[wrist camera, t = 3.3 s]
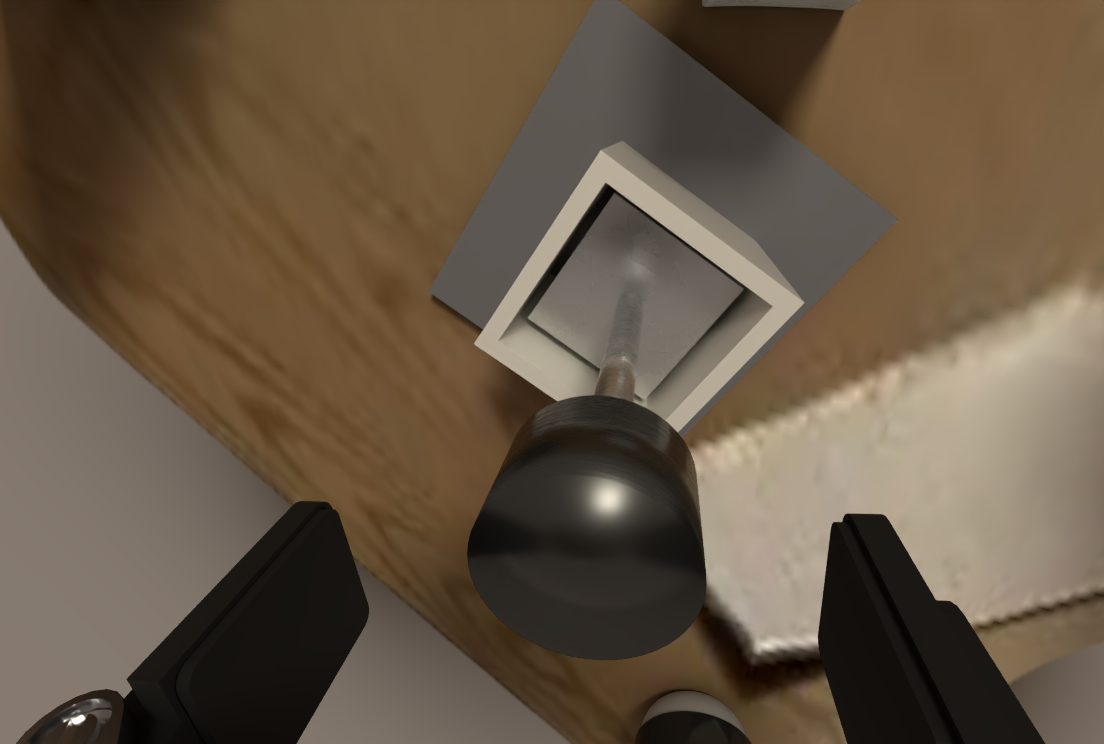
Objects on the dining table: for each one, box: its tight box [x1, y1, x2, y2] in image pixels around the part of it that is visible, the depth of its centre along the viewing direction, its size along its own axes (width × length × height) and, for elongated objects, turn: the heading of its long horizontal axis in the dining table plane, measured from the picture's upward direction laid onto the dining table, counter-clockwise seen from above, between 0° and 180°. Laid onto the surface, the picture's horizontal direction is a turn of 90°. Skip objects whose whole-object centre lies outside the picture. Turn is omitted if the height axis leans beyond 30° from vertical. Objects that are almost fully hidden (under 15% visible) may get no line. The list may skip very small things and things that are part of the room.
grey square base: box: [429, 0, 898, 438], centre depth 28 cm, size 20×20×13 cm
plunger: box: [467, 192, 744, 660], centre depth 18 cm, size 7×7×17 cm
